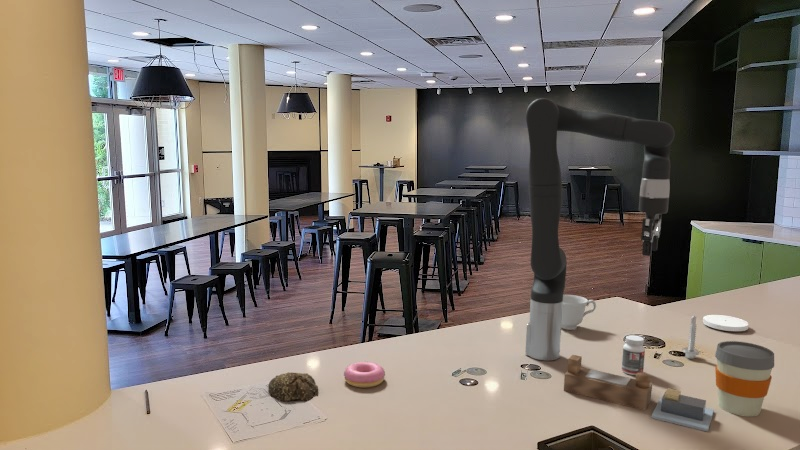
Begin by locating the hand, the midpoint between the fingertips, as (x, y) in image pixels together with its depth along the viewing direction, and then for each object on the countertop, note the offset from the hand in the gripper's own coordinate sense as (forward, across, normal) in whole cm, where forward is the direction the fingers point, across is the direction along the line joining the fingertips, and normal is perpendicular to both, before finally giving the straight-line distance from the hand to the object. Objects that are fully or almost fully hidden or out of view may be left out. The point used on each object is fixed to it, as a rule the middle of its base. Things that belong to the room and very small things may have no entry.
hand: (649, 252), depth 173 cm
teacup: (+33, -24, -27) cm, 49 cm away
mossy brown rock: (+34, +69, -70) cm, 104 cm away
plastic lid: (+34, -56, +17) cm, 68 cm away
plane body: (+33, +26, -3) cm, 42 cm away
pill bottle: (+33, +6, -1) cm, 34 cm away
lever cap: (+32, +27, +15) cm, 45 cm away
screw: (+33, -16, +11) cm, 39 cm away
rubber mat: (+33, +27, +15) cm, 45 cm away
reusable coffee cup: (+33, +15, +26) cm, 45 cm away
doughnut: (+34, +54, -59) cm, 86 cm away
